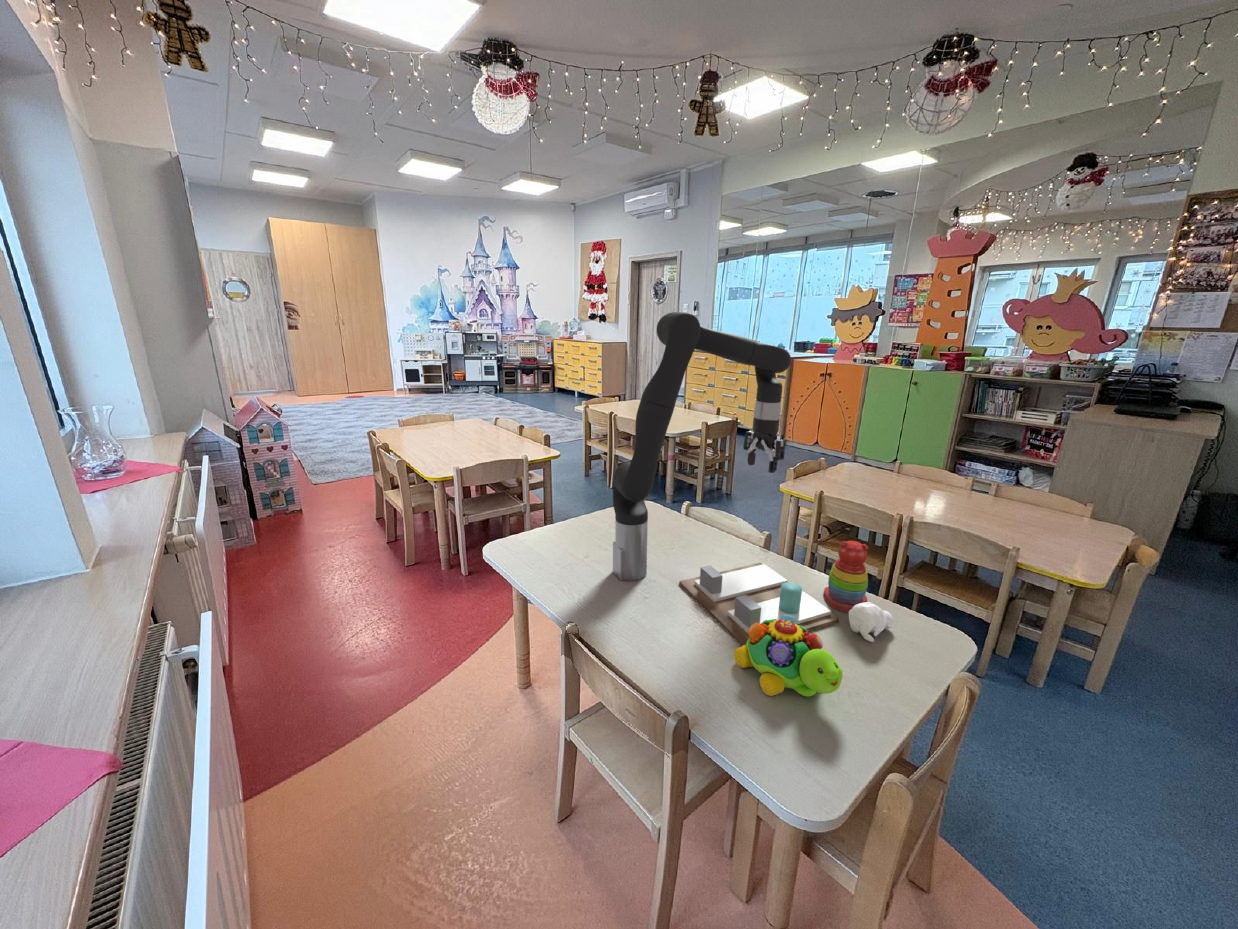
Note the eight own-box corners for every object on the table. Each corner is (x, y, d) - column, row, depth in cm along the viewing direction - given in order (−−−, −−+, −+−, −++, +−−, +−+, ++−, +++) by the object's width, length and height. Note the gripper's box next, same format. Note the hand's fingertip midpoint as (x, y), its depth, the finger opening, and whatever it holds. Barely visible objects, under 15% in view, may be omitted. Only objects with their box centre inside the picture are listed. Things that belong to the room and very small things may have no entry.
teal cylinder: (787, 616, 123) (790, 594, 121) (774, 605, 128) (776, 584, 126) (803, 611, 125) (806, 590, 123) (790, 601, 130) (792, 580, 128)
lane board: (746, 650, 114) (746, 646, 114) (679, 584, 141) (679, 581, 141) (839, 622, 125) (839, 618, 124) (759, 565, 152) (760, 562, 152)
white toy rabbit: (849, 599, 119) (882, 591, 124) (841, 631, 121) (874, 622, 126) (872, 613, 113) (906, 605, 119) (864, 646, 115) (897, 636, 121)
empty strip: (714, 602, 131) (715, 581, 129) (694, 583, 140) (695, 564, 138) (787, 583, 140) (789, 564, 138) (764, 567, 148) (765, 548, 147)
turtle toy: (796, 732, 92) (804, 679, 89) (723, 655, 113) (727, 610, 109) (863, 704, 99) (873, 654, 95) (783, 636, 119) (788, 593, 116)
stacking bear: (866, 598, 135) (877, 538, 130) (867, 618, 126) (878, 554, 121) (824, 588, 139) (832, 530, 134) (821, 607, 131) (830, 545, 125)
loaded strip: (752, 637, 117) (754, 615, 115) (727, 614, 125) (729, 593, 124) (830, 614, 126) (833, 593, 124) (802, 594, 134) (804, 574, 133)
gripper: (740, 413, 152) (735, 464, 157) (776, 422, 140) (770, 477, 145) (758, 410, 155) (753, 461, 160) (794, 419, 144) (788, 473, 148)
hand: (761, 468), depth 152 cm, fingers open, 8 cm apart
